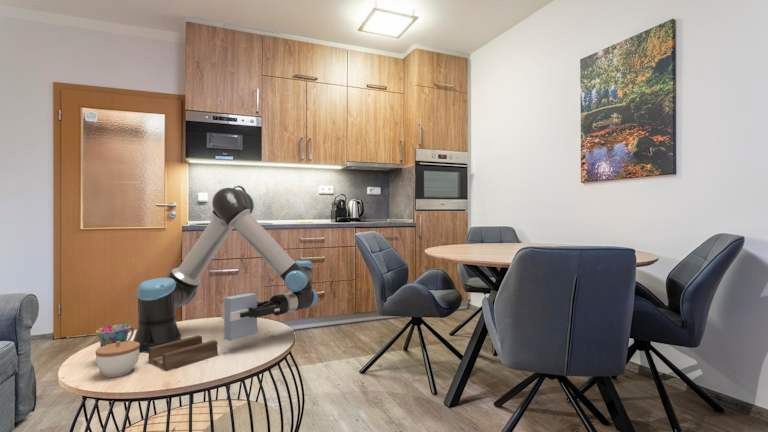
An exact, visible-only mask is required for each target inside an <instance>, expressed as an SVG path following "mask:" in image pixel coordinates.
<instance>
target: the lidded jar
mask: <svg viewBox="0 0 768 432" xmlns="http://www.w3.org/2000/svg"><path fill="white" fill-rule="evenodd" d="M139 347H140V343H139V342H135V341H133V340H130V341H125V342H120V341H116V343H112V344H108V345H105V346H102V347H101V346H100V347H98V348H96V349H95V362H96V366H97V369H98V370H99V372H100V373H101V374H103V375H105V377H106V378H118V377H122V376H125V375H128V374H130V372H131V371H132V370H133V369H134V368H135V366H136V364H137V363H138V360H139V357H140V352H139Z"/></svg>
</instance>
